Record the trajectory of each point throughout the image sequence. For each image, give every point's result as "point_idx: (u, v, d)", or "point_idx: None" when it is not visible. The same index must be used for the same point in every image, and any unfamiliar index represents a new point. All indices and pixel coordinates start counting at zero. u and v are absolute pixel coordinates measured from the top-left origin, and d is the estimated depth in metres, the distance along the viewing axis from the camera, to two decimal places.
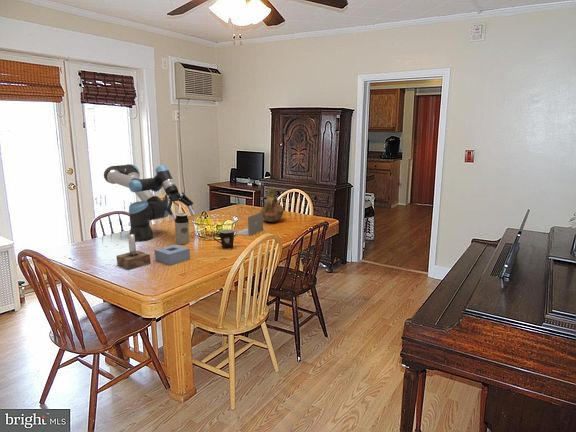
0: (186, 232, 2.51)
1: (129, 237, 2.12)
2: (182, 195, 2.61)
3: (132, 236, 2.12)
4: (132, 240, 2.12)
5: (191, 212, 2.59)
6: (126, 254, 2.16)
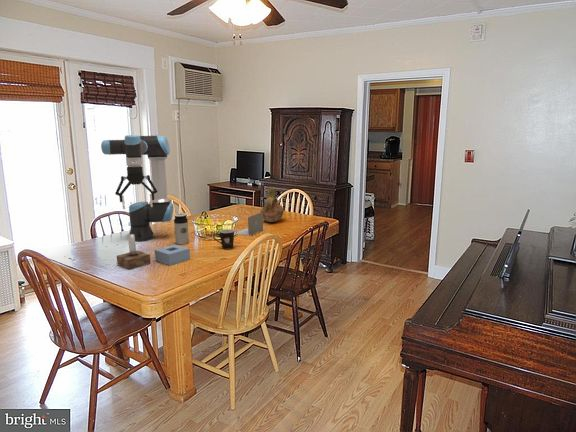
0: (186, 232, 2.51)
1: (129, 237, 2.12)
2: (146, 179, 2.12)
3: (132, 236, 2.12)
4: (132, 240, 2.12)
5: (150, 202, 2.15)
6: (126, 254, 2.16)
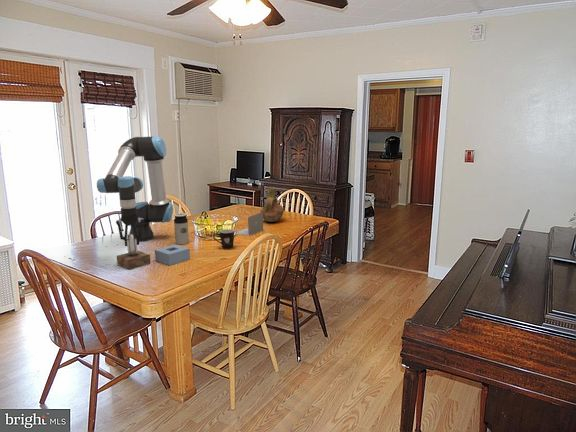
0: (186, 232, 2.51)
1: (129, 237, 2.12)
2: (139, 221, 2.12)
3: (132, 236, 2.12)
4: (132, 240, 2.12)
5: None
6: (126, 254, 2.16)
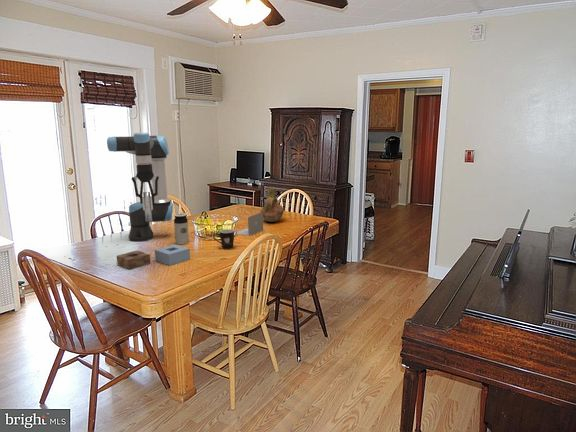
0: (186, 232, 2.51)
1: (144, 194, 2.10)
2: (154, 179, 2.10)
3: (147, 193, 2.10)
4: (147, 197, 2.10)
5: None
6: (126, 254, 2.16)
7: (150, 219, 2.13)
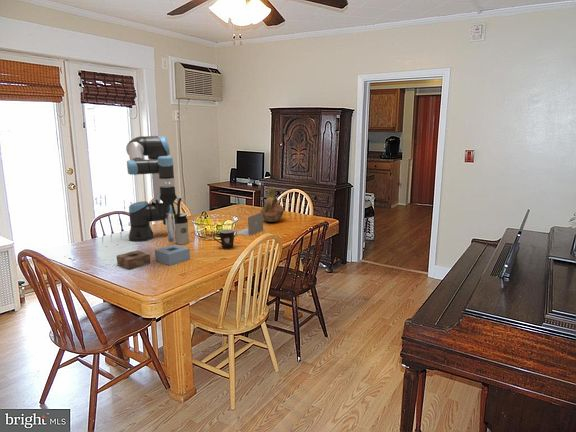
0: (186, 232, 2.51)
1: (168, 216, 2.16)
2: (177, 200, 2.17)
3: (170, 215, 2.16)
4: (170, 219, 2.16)
5: None
6: (126, 254, 2.16)
7: (173, 239, 2.19)
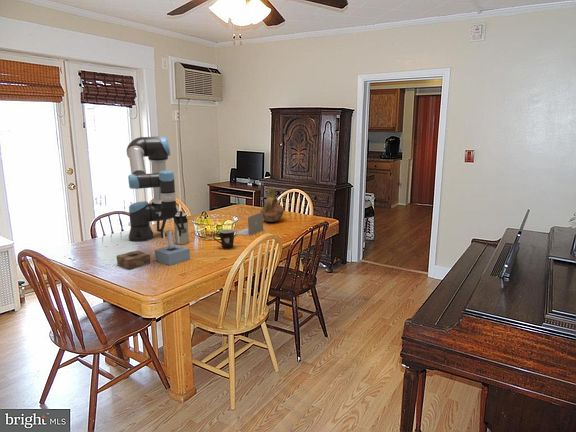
0: (186, 232, 2.51)
1: (168, 233, 2.18)
2: (179, 214, 2.18)
3: (171, 232, 2.18)
4: (171, 236, 2.18)
5: (177, 238, 2.21)
6: (126, 254, 2.16)
7: None
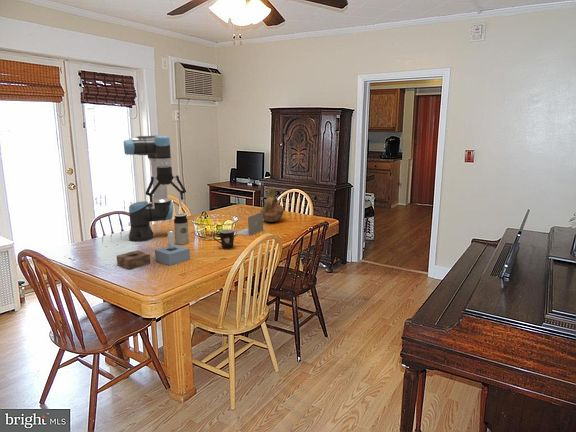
0: (186, 232, 2.51)
1: (169, 233, 2.18)
2: (176, 179, 2.15)
3: (172, 232, 2.18)
4: (172, 236, 2.19)
5: (179, 202, 2.19)
6: (126, 254, 2.16)
7: None
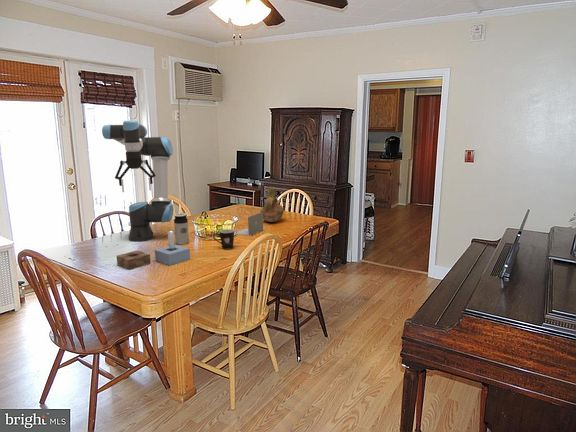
0: (186, 232, 2.51)
1: (169, 233, 2.18)
2: (145, 163, 2.19)
3: (172, 232, 2.18)
4: (172, 236, 2.19)
5: (149, 186, 2.22)
6: (126, 254, 2.16)
7: None
